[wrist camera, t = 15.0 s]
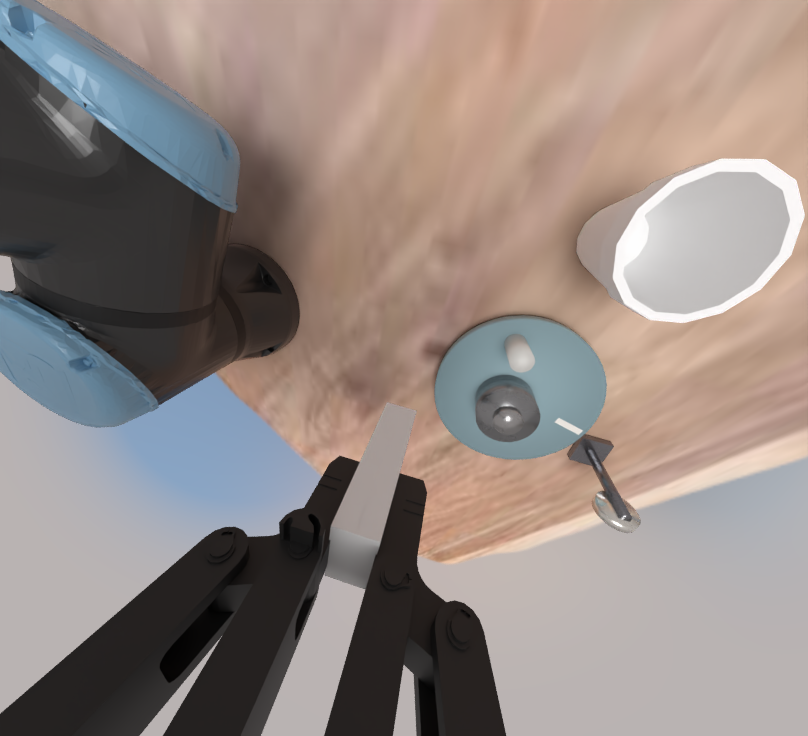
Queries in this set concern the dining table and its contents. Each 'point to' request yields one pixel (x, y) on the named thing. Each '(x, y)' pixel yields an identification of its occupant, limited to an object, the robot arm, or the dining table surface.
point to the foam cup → (695, 239)
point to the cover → (506, 408)
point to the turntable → (535, 364)
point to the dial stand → (605, 485)
